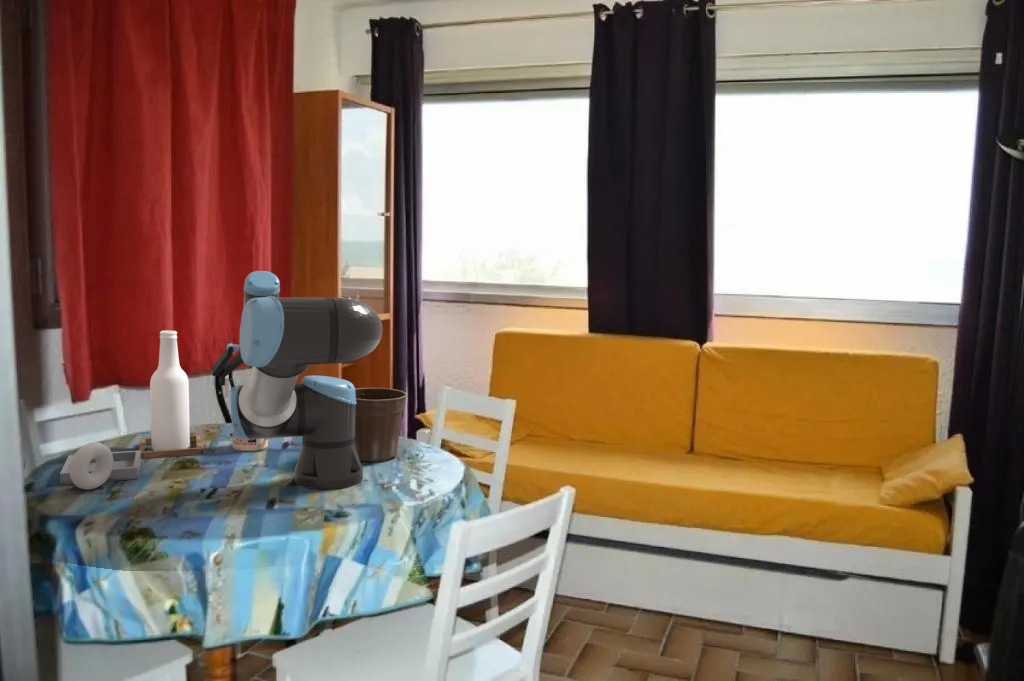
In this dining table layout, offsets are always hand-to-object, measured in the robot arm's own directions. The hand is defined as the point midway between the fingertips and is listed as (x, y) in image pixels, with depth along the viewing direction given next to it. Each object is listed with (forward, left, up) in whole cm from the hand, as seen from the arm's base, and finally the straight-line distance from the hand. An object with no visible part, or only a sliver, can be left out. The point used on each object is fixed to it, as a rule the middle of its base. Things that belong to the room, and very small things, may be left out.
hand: (254, 391), depth 195 cm
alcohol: (+7, +20, -16) cm, 26 cm away
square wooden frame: (+7, +20, -15) cm, 26 cm away
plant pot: (-13, -27, -16) cm, 34 cm away
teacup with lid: (+3, 0, -16) cm, 16 cm away
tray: (-9, +34, -15) cm, 38 cm away
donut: (-21, +35, -16) cm, 43 cm away
